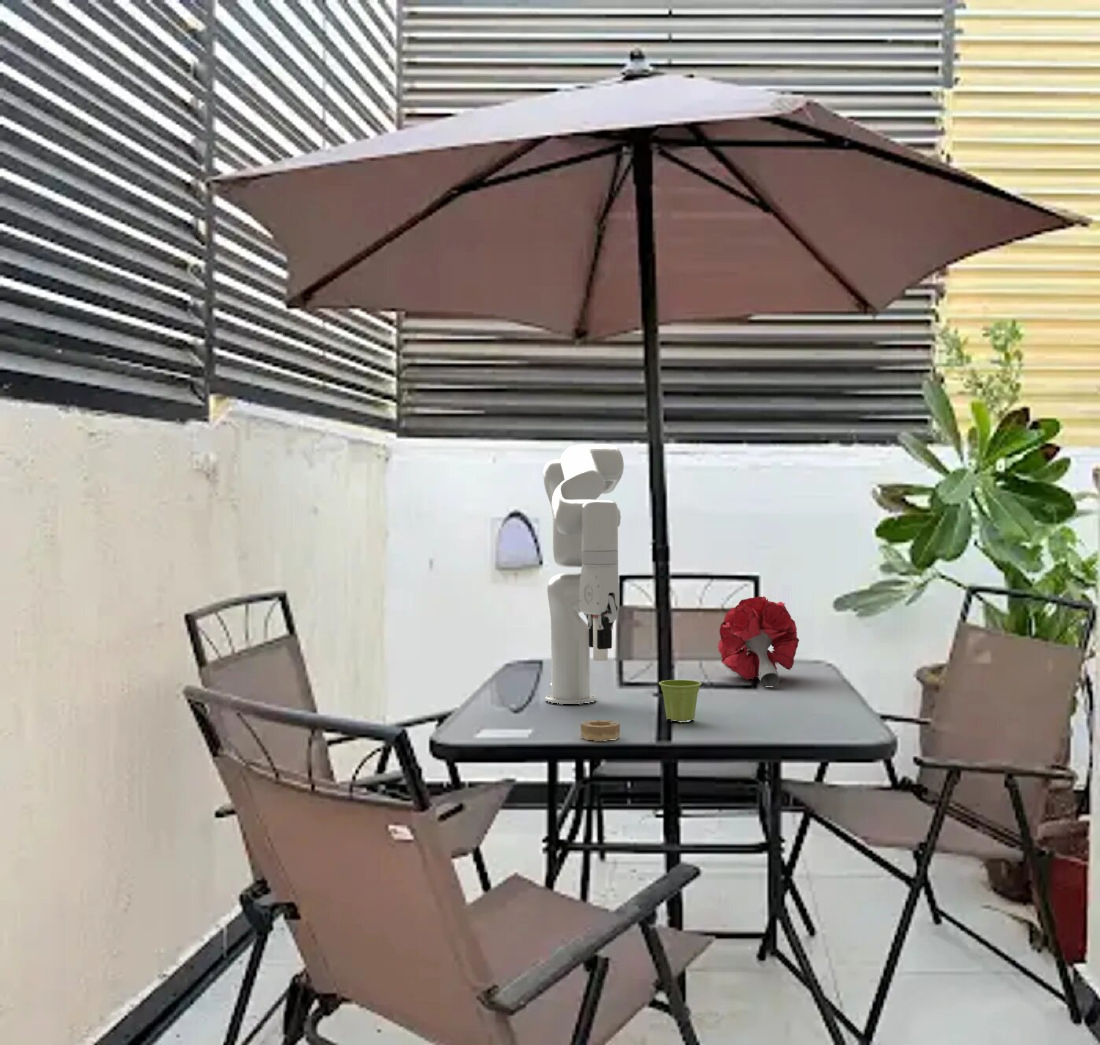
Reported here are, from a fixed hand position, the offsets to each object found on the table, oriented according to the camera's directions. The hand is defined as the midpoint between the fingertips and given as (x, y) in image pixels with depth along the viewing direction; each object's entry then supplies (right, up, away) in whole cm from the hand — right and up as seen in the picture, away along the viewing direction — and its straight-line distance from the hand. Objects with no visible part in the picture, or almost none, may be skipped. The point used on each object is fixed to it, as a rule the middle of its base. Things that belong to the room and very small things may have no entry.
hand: (600, 646), depth 249 cm
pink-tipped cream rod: (0, -3, 0) cm, 3 cm away
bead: (0, -19, 0) cm, 19 cm away
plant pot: (+19, -19, +19) cm, 33 cm away
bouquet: (+47, -18, +79) cm, 93 cm away
